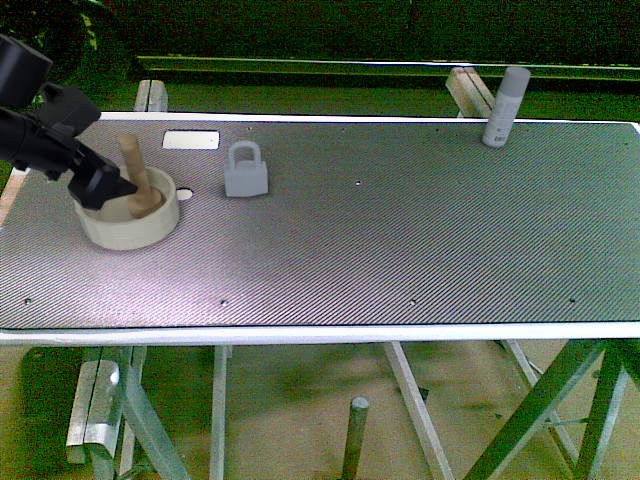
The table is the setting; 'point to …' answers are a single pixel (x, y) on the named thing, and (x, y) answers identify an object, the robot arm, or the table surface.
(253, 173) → the padlock
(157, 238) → the bowl
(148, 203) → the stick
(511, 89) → the container
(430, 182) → the table surface
